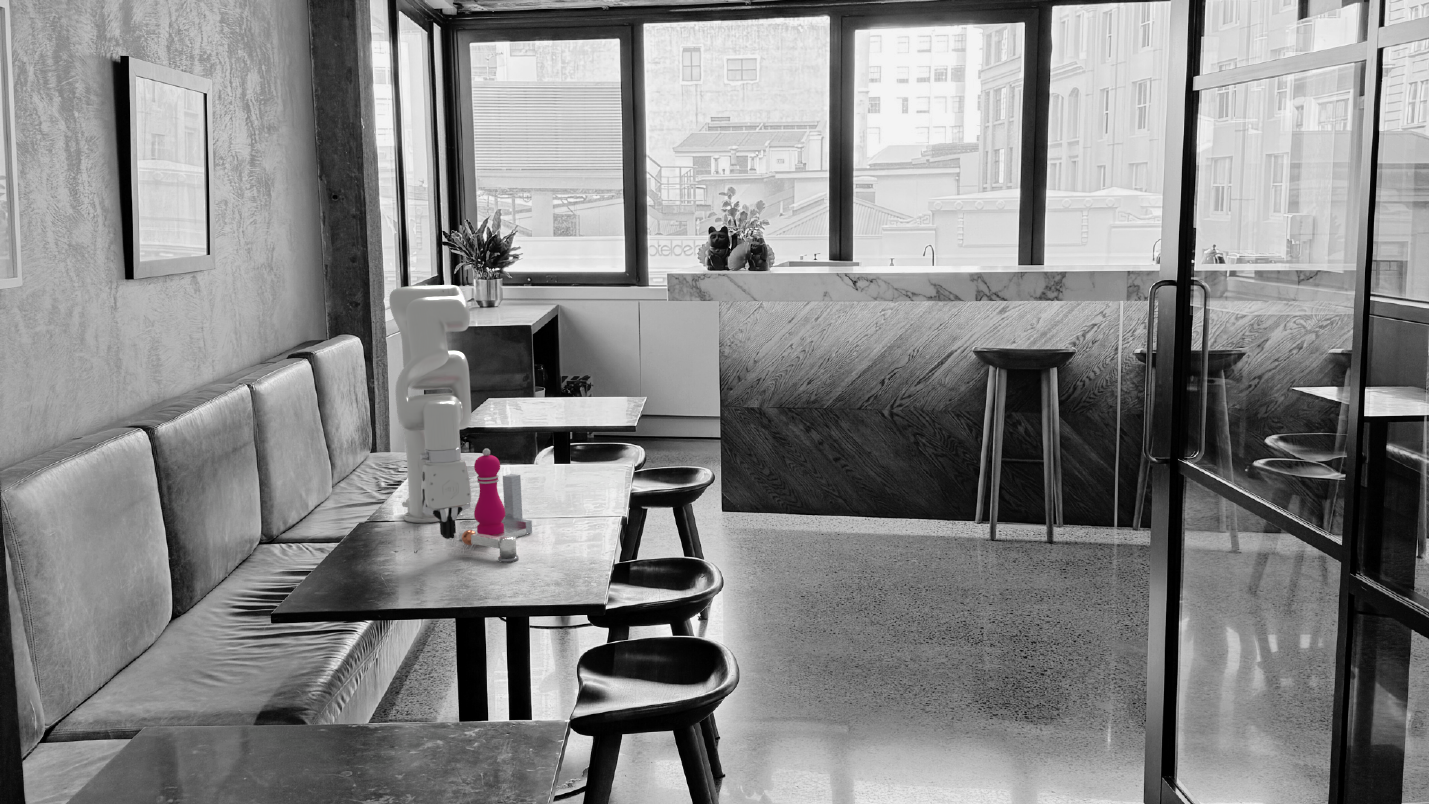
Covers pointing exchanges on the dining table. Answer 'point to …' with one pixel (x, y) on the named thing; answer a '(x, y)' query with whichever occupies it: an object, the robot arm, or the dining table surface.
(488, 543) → the lever
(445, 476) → the robot arm
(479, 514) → the pepper mill
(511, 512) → the press bed
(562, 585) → the dining table surface
